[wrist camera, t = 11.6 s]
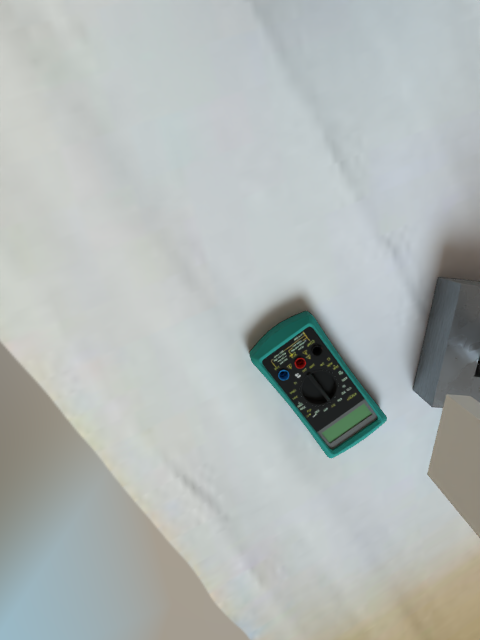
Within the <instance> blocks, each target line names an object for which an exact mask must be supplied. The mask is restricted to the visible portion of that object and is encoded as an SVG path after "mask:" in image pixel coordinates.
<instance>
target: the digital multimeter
mask: <svg viewBox="0 0 480 640" xmlns="http://www.w3.org/2000/svg"><path fill="white" fill-rule="evenodd" d="M315 331H316V332H315ZM323 342H324V343H323ZM326 346H327V347H326ZM250 358H251V361H252V363H253V364H254V365H255V366H256V367H257V368H258V369H259V371H260V372H261V373H262V374H263V375H264V376H265V377H266V378H267V380H268V381H269V382H270V383H271V384H272V385H273V387H274V388H275V389H276V390H277V391H278V392H279V394H280V395H281V396H282V397H283V398H284V400H285V401H286V402H287V403H288V404H289V406H290V407H291V408H292V409H293V411H294V412H295V413H296V415H297V416H298V417H299V418H300V420H301V421H302V422H303V424H304V425H305V426H306V427H307V429H308V430H309V432H310V433H311V434H312V436H313V437H314V439H315V440H316V441H317V443H318V444H319V445H320V447H321V448H322V450H323V451H324V452H325V454H326V455H327V457H329V458H333V457H336V456H337V455H339V454H341V453H343V452H344V451H346V450H348V449H349V448H351V447H353V446H354V445H356V444H357V443H359V442H360V441H362V440H363V439H365V438H366V437H367V436H369V435H370V434H371V433H372V432H374V431H375V430H376V429H377V428H379V427H380V426H381V425H382V424H383V423H385V421H386V420H387V417H386V415H385V414H384V413H383V412H382V410H381V409H380V408H379V407H378V405H377V404H376V403H375V402H374V400H373V399H372V398H371V397H370V395H369V394H368V393H367V392H366V390H365V389H364V388H363V387H362V385H361V384H360V383H359V381H358V380H357V379H356V377H355V376H354V375H353V373H352V372H351V371H350V369H349V368H348V367H347V365H346V364H345V362H344V361H343V360H342V358H341V357H340V355H339V354H338V352H337V351H336V349H335V348H334V346H333V345H332V344H331V342H330V341H329V339H328V338H327V336H326V335H325V333H324V332H323V330H322V328H321V327H320V325H319V324H318V322H317V321H316V319H315V318H314V316H313V315H312V314H311V313H309V312H308V311H304V312H302V313H299V314H297V315H295V316H292V317H290V318H288V319H286V320H284V321H282V322H281V323H279V324H277V325H276V326H275V327H273V328H272V329H271V330H269V331H268V332H267V333H266V334H265V335H264V336H263V337H262V338H261V339H260V340H259V341H258V343H257V344H256V345H255V346H254V347H253V349H252V350H251V351H250ZM263 365H264V366H263ZM332 373H333V374H332ZM335 376H336V377H335ZM329 402H330V403H329Z"/></svg>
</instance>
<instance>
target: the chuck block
mask: <svg viewBox="0 0 480 640" xmlns="http://www.w3.org/2000/svg"><path fill="white" fill-rule="evenodd" d="M479 356H480V281H471V280H461V279H452V278H442V277H438V280H437V284H436V289H435V293H434V298H433V302H432V307H431V311H430V316H429V320H428V324H427V329H426V333H425V338H424V342H423V347H422V351H421V356H420V360H419V365H418V369H417V373H416V378H415V382H414V387H413V391H414V392H416V393H417V394H418V395H419V396H420V397H421V398H422V399H424V400H425V401H426V402H427V403H428V404H429V405H430V406H431V407H438V408H443V406H444V402H445V398H446V394H450V395H464V396H471V397H473V398H474V399H475V400H477V401H478V402H480V365H479V364H477V363H478V359H479Z"/></svg>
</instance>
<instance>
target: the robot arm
mask: <svg viewBox="0 0 480 640" xmlns="http://www.w3.org/2000/svg"><path fill="white" fill-rule="evenodd" d="M427 475H428V476H429V477H430V478H431V479H432V481H433V482H434V483H435V484H436V485H437V487H438V488H439V489H440V490H441V492H442V493H443V494H444V495H445V496H446V498H447V499H448V500H449V501H450V502H451V504H452V505H453V506H454V507H455V509H456V510H457V511H458V512H459V513H460V515H461V516H462V517H463V518H464V519H465V521H466V522H467V523H468V524H469V526H470V527H471V528H472V529H473V530H474V532H475V533H476V534H477V535H478V537H479V538H480V402H478V401H477V400H475V399H474V398H473V397H471V396H464V395H450V394H446V398H445V402H444V406H443V411H442V415H441V419H440V423H439V427H438V431H437V436H436V440H435V444H434V448H433V452H432V457H431V461H430V465H429V469H428V473H427Z"/></svg>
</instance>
